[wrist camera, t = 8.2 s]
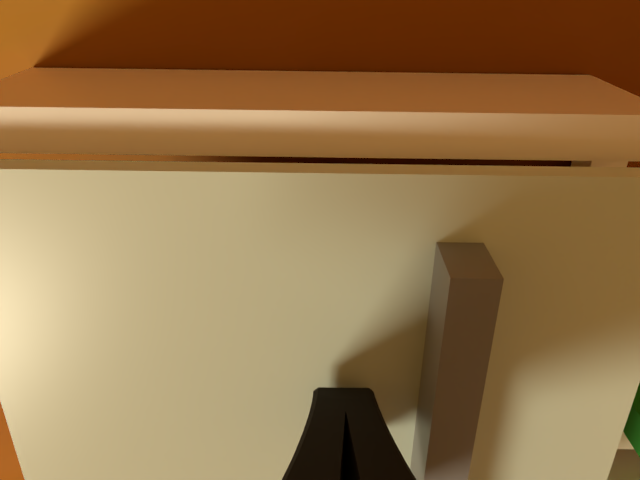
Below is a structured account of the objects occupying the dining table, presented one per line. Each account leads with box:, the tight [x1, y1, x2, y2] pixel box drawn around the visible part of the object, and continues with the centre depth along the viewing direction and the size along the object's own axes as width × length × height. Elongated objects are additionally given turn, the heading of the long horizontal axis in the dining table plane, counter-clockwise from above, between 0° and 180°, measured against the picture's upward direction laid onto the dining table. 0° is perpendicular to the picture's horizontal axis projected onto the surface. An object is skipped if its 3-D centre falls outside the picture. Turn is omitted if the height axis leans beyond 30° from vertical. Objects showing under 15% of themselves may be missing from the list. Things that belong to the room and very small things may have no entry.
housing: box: [0, 67, 640, 480], centre depth 17 cm, size 14×32×4 cm, turn 89°
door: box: [0, 159, 640, 480], centre depth 14 cm, size 12×16×2 cm
